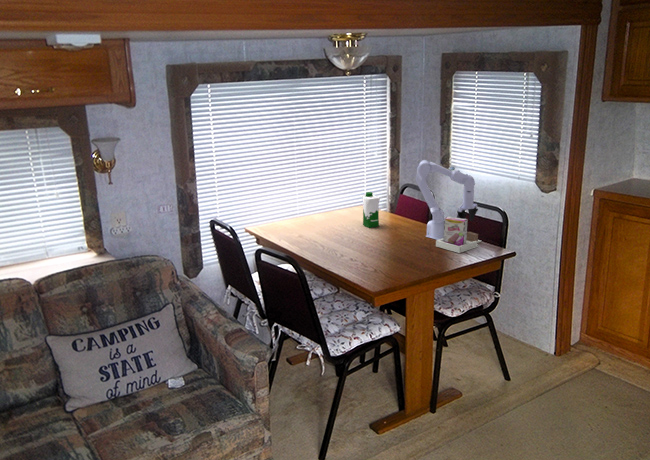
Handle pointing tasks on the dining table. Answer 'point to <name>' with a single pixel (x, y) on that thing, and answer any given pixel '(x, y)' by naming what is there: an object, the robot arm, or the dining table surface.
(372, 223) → the milk carton
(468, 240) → the frame
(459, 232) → the candy bar box
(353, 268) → the dining table surface
